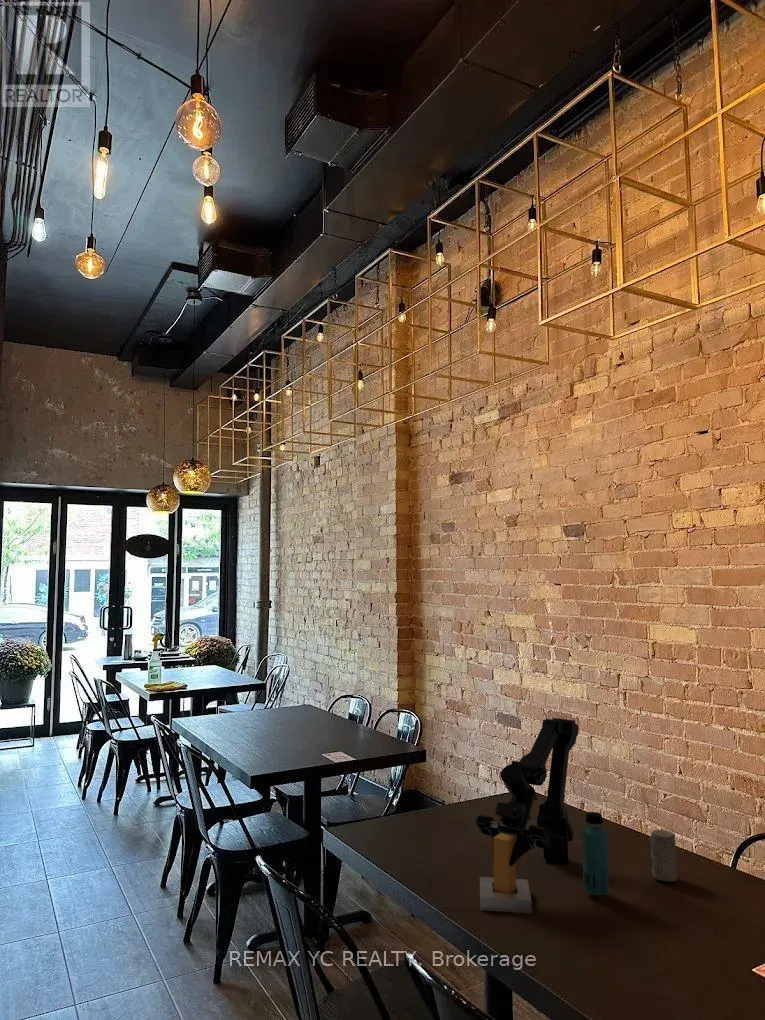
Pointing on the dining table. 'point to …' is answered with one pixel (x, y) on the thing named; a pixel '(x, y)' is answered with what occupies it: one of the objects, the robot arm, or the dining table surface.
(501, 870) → the orange rectangular block
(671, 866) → the decorative vessel
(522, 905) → the gray square socket base
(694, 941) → the dining table surface
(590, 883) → the beverage bottle
